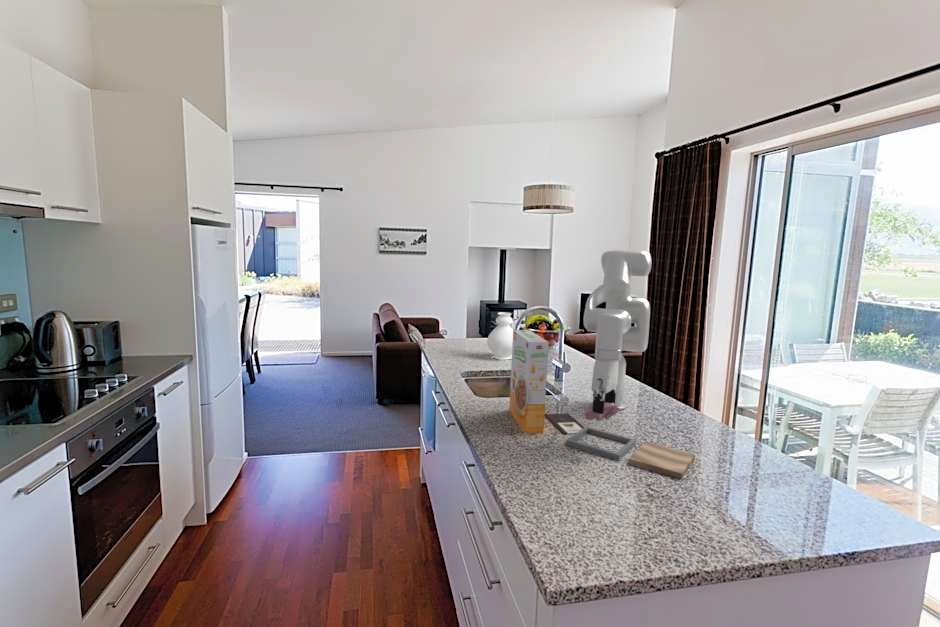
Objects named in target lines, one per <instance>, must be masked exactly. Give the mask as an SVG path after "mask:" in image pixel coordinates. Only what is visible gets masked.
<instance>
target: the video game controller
mask: <svg viewBox="0 0 940 627" xmlns="http://www.w3.org/2000/svg"><path fill="white" fill-rule="evenodd" d="M619 411H620V410H619V408H618V407H617V405H615V404H614V403H604V413H603V414H599V413H595V412H593V408H591V409H589V410H588V411H586V412H585V413H584V418H585V420H588V421H590V420H594V419H595V420H596V421H597V422H600V421H602V420H604V419H605V420H606V421H607V420H609V419H611V418H612V417H614V416H615V415H617V413H619Z"/></svg>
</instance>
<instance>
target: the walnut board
mask: <svg viewBox="0 0 940 627" xmlns="http://www.w3.org/2000/svg"><path fill="white" fill-rule="evenodd" d="M695 458H696V454H694V453H692V452H687V451H683V450H680V449H676V448H672V447H668V446H664V445H662V444H661V445H660V444H656V443H653V442H650V441H645V442H644V443H643V444H642V445H641V446H640V447H639V448H638V449H636V451H635V452H634V453H633V454H632V455H631V456H630V457H629V458H628V464H629V465H632V466H636V467H639V468H643V469H646V470H650V471H652V472H656V473H660V474H663V475H666V476H670V477H673V478H677V479H680V480H682V479H683V477H684V476H685V474H687V472H688V470H689V469H688V468H690V467H691V465H692V464H693V463H694V461H695V460H696V459H695Z"/></svg>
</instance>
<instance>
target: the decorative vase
mask: <svg viewBox="0 0 940 627" xmlns="http://www.w3.org/2000/svg"><path fill="white" fill-rule="evenodd" d="M497 315H498V316H497V317H496V318H495V322H496V324H497V326H496V327H495V328H493V329H492V331H490V333H489V334H488V337H487V340H486V344H487V346H488V349H490V351H491V352H492V355H491V357H493V358H496V359H511V358H512V343H513V330H514V328H513V327H512V326H510V325H512V324H513V323H514V320H513V318H512V317H511V316H512V313H511V312H506V311H505V312H501V311H499V312H497ZM491 357H490V358H491Z"/></svg>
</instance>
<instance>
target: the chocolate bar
mask: <svg viewBox="0 0 940 627" xmlns="http://www.w3.org/2000/svg"><path fill="white" fill-rule="evenodd" d="M544 418H546V419H547V420H548V421H549V422H550V423H551V424H552V425H553V426H555V428H556V429H557V430H559V432H560V433H561V434H563V435H574V434H576V433H577V432H579V431H580V430H582V429H583V428H585V427H584V426H583V425H582V424H581V423H580V422H579V421H578V420H576V418H574V417H573V416H572V415H570V413H545V416H544ZM587 433H590V432H589V431H588V432H587ZM590 434H591V433H590Z"/></svg>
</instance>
